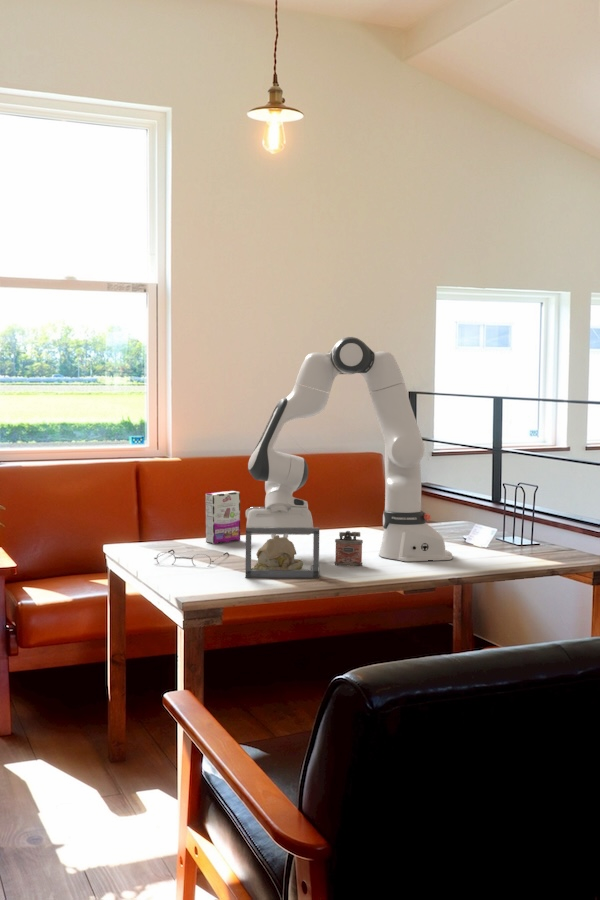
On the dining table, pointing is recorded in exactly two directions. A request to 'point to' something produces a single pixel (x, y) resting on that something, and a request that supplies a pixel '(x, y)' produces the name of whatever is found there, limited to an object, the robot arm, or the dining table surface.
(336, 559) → the lighter
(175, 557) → the eyeglasses
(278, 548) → the ceramic model
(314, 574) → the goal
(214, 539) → the candy bar box
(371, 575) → the dining table surface
